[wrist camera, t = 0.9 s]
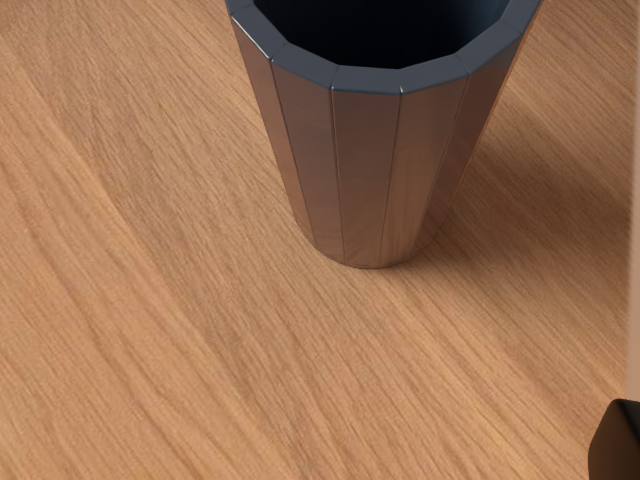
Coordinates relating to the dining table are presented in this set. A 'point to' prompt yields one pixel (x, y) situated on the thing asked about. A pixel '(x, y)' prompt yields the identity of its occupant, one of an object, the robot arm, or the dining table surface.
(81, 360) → the dining table surface
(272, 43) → the cup
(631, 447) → the robot arm
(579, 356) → the dining table surface
